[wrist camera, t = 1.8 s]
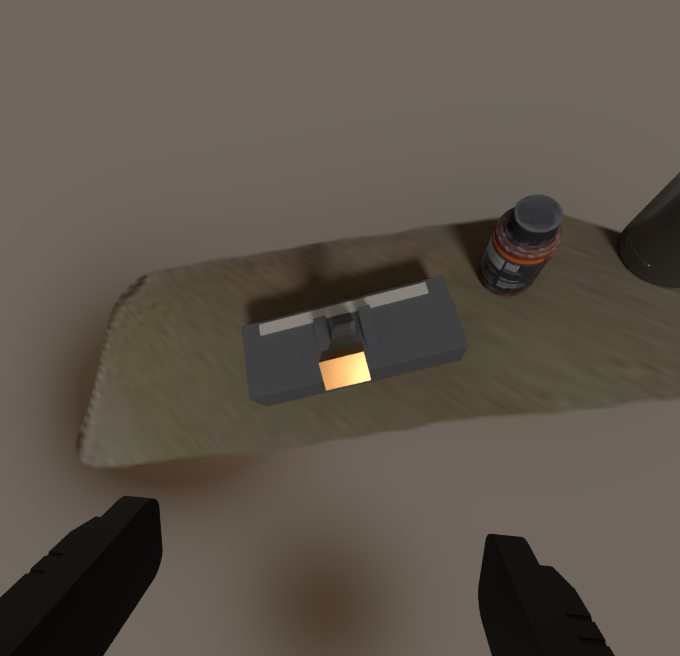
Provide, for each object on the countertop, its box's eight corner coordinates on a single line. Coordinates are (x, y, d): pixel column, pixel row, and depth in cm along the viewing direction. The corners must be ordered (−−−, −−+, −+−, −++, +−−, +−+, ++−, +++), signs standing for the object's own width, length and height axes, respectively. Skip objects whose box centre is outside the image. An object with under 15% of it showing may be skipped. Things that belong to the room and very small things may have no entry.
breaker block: (437, 295, 42) (446, 260, 35) (459, 359, 39) (474, 336, 32) (258, 340, 43) (229, 316, 36) (266, 406, 41) (237, 394, 33)
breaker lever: (358, 318, 36) (363, 351, 21) (362, 335, 36) (370, 379, 22) (331, 325, 36) (318, 362, 22) (335, 342, 37) (326, 390, 22)
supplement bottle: (525, 249, 42) (567, 179, 32) (537, 295, 40) (587, 236, 30) (473, 255, 43) (497, 189, 33) (482, 300, 41) (511, 246, 30)
